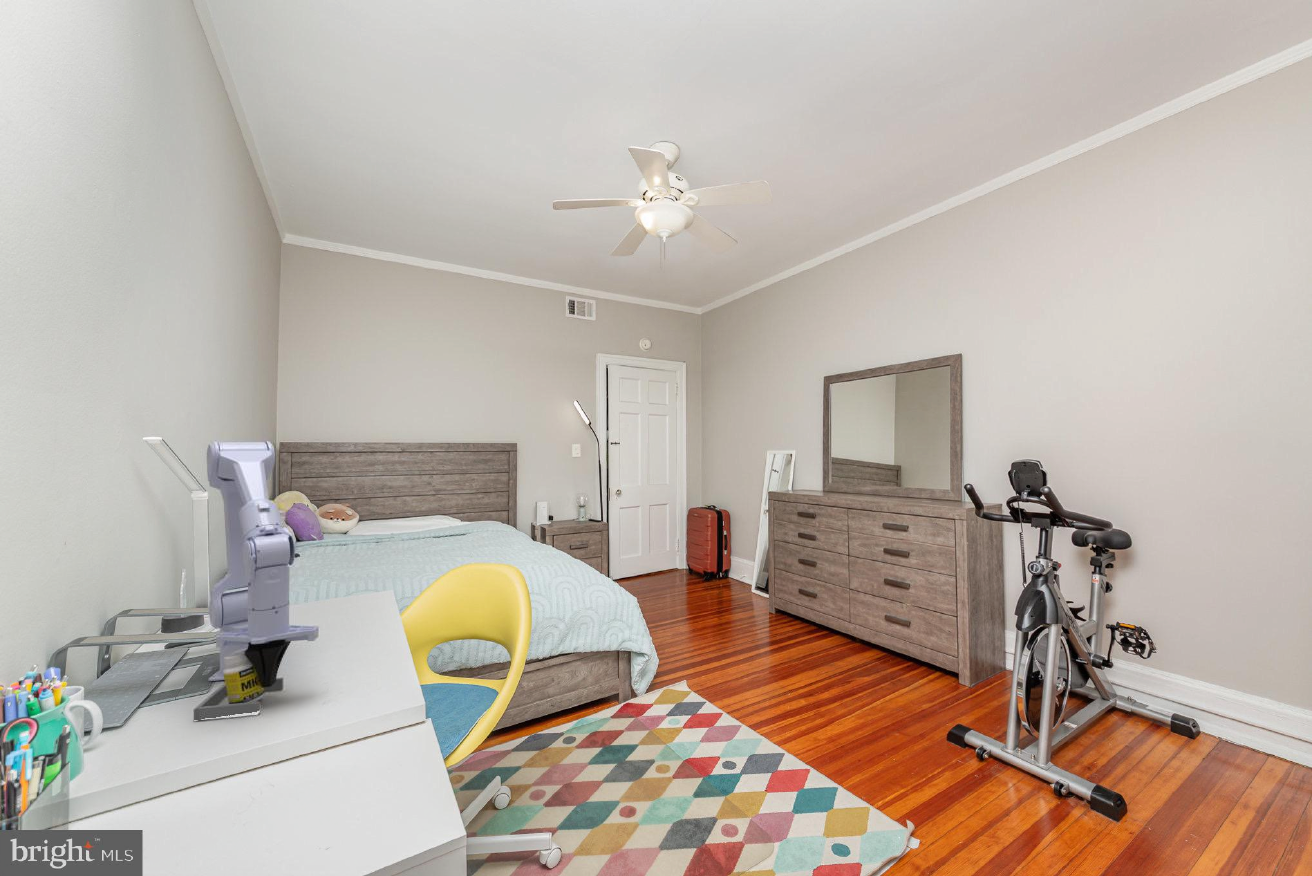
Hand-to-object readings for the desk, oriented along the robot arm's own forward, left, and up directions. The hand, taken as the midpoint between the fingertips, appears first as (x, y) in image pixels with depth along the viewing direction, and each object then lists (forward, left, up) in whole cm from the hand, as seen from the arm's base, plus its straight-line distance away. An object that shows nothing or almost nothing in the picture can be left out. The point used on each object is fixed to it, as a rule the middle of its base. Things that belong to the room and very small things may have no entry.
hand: (268, 684), depth 91 cm
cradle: (0, -4, -3) cm, 5 cm away
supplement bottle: (0, -3, -3) cm, 4 cm away
